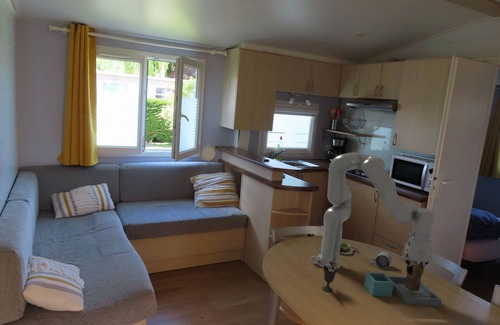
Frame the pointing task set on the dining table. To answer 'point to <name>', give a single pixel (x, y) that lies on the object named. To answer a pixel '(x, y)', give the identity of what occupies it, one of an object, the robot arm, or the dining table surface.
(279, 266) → the dining table surface
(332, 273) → the sundae
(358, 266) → the dining table surface
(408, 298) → the tray
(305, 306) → the dining table surface
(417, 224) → the robot arm
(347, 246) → the salad plate
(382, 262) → the ceramic mug
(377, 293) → the teal open box
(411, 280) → the peg
